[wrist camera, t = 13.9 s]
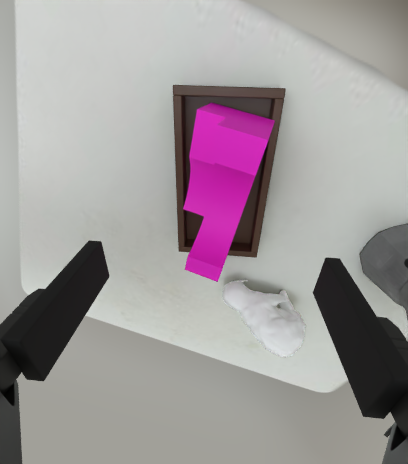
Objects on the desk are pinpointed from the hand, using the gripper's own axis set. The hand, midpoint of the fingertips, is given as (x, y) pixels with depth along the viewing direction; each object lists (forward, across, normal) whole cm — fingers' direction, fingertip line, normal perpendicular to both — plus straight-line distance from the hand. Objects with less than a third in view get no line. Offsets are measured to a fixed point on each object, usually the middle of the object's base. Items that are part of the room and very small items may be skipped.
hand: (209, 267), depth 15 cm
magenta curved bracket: (+15, +1, 0) cm, 15 cm away
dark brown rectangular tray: (+16, 0, 0) cm, 17 cm away
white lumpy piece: (+17, +7, -18) cm, 25 cm away
